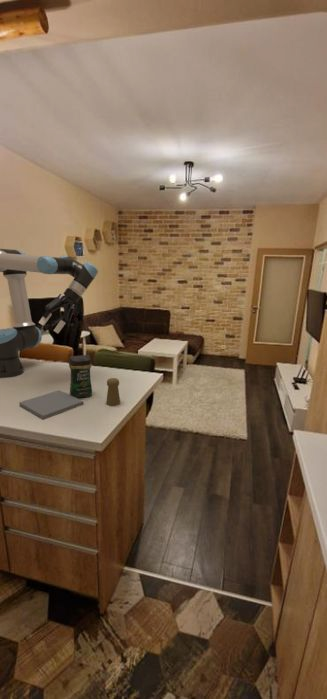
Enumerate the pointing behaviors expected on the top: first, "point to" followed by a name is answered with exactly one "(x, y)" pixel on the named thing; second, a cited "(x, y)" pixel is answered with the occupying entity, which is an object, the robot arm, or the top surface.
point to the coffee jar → (80, 376)
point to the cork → (113, 392)
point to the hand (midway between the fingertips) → (48, 328)
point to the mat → (51, 404)
